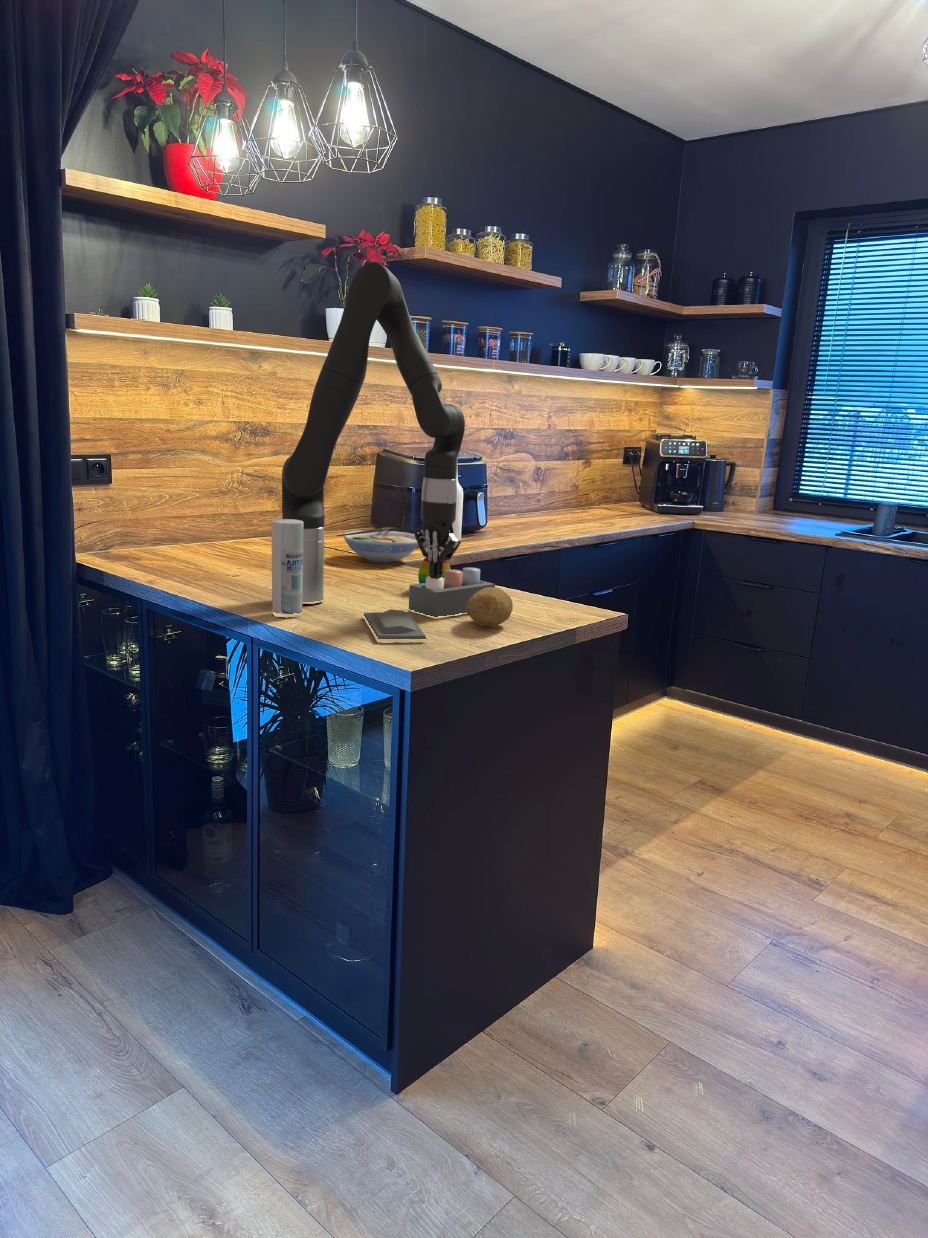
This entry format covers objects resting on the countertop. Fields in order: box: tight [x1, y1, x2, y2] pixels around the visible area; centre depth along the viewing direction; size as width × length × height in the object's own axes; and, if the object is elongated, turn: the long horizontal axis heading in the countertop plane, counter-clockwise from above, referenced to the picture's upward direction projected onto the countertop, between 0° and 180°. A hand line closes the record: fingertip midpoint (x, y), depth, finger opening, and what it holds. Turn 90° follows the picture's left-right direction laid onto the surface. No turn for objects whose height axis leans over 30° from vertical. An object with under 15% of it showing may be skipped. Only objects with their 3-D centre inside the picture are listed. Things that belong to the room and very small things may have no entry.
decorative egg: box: [417, 557, 452, 584], centre depth 217 cm, size 8×8×10 cm
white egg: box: [426, 576, 444, 590], centre depth 194 cm, size 4×4×6 cm
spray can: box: [271, 518, 304, 614], centre depth 184 cm, size 6×6×20 cm
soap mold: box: [363, 608, 427, 640], centre depth 179 cm, size 10×20×4 cm, turn 13°
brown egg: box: [444, 569, 463, 587], centre depth 198 cm, size 4×4×6 cm
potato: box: [466, 586, 514, 627], centre depth 187 cm, size 10×14×8 cm
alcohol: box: [452, 457, 464, 542], centre depth 287 cm, size 9×9×30 cm
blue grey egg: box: [462, 567, 481, 585], centre depth 201 cm, size 4×4×6 cm
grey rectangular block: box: [408, 579, 496, 617], centre depth 198 cm, size 18×9×6 cm, turn 134°
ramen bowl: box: [335, 526, 419, 564], centre depth 255 cm, size 25×23×8 cm
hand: (435, 577), depth 193 cm, fingers closed
